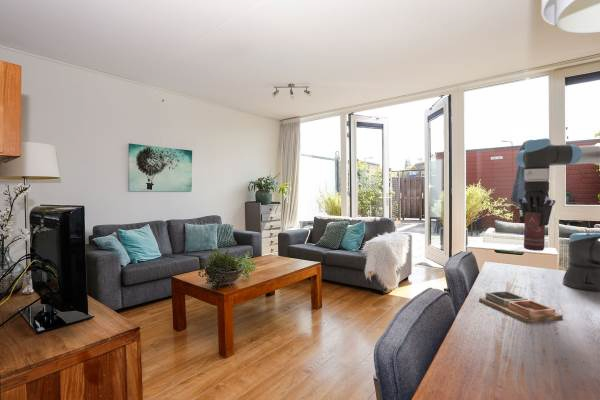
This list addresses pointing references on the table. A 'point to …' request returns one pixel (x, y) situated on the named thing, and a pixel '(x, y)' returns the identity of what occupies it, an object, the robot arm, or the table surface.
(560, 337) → the table surface
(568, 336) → the table surface
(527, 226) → the can
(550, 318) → the board
